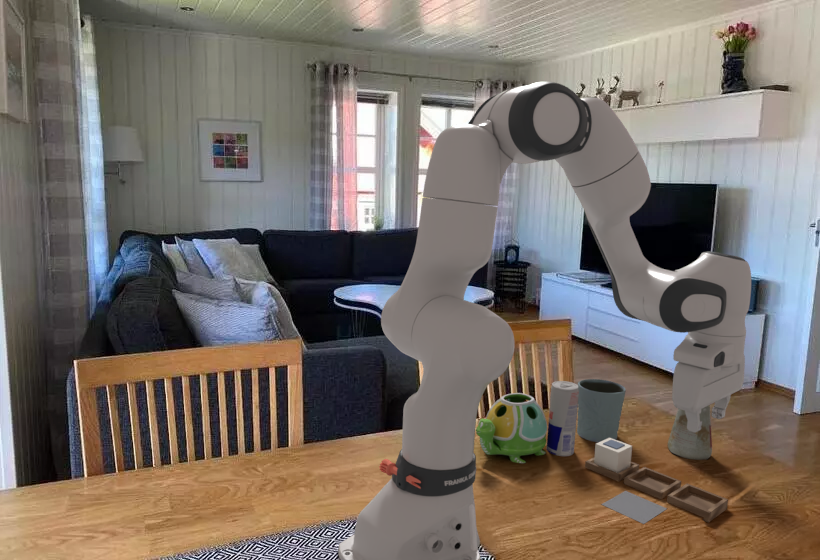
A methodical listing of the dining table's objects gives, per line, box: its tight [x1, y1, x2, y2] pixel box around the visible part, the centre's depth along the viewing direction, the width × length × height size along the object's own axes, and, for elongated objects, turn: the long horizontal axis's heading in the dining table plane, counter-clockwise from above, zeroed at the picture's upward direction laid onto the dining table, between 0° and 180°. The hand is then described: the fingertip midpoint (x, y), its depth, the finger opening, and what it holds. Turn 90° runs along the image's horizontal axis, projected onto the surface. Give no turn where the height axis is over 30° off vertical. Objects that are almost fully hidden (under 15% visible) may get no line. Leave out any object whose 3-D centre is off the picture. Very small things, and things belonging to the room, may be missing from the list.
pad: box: [601, 490, 668, 525], centre depth 111 cm, size 8×8×1 cm
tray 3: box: [666, 483, 729, 523], centre depth 113 cm, size 7×7×2 cm
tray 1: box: [584, 457, 640, 482], centre depth 125 cm, size 7×7×2 cm
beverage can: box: [546, 380, 579, 457], centre depth 132 cm, size 6×6×15 cm
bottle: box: [667, 404, 713, 461], centre depth 133 cm, size 9×9×28 cm
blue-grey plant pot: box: [576, 378, 627, 443], centre depth 141 cm, size 10×10×12 cm
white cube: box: [593, 438, 633, 473], centre depth 125 cm, size 5×5×5 cm
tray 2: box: [623, 466, 682, 500], centre depth 119 cm, size 7×7×2 cm
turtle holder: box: [475, 392, 548, 464], centre depth 130 cm, size 12×18×12 cm
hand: (706, 423), depth 110 cm, fingers open, 8 cm apart
